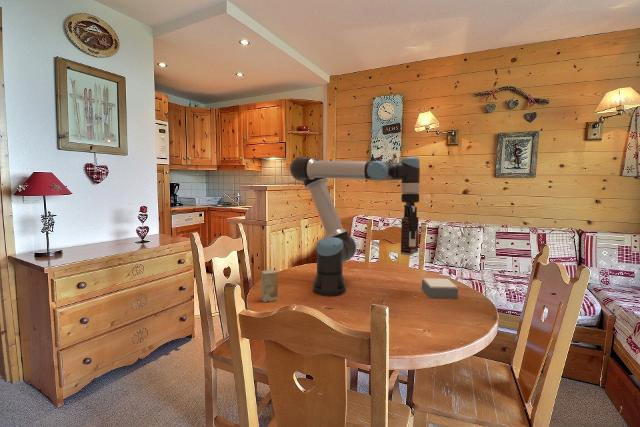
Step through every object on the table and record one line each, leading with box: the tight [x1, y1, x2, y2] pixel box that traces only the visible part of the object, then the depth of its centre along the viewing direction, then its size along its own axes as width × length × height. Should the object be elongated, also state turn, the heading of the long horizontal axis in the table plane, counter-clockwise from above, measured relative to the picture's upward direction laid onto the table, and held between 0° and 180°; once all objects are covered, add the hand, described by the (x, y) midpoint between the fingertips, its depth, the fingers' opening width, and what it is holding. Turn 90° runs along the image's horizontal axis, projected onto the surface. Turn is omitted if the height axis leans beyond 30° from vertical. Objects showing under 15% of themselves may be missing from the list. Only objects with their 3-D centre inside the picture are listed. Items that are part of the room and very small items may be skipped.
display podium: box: [421, 277, 459, 299], centre depth 144 cm, size 12×12×5 cm
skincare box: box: [260, 269, 279, 303], centre depth 135 cm, size 6×4×12 cm
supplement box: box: [400, 216, 420, 256], centre depth 142 cm, size 9×5×16 cm, turn 142°
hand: (409, 244), depth 143 cm, fingers closed on supplement box, 9 cm apart
